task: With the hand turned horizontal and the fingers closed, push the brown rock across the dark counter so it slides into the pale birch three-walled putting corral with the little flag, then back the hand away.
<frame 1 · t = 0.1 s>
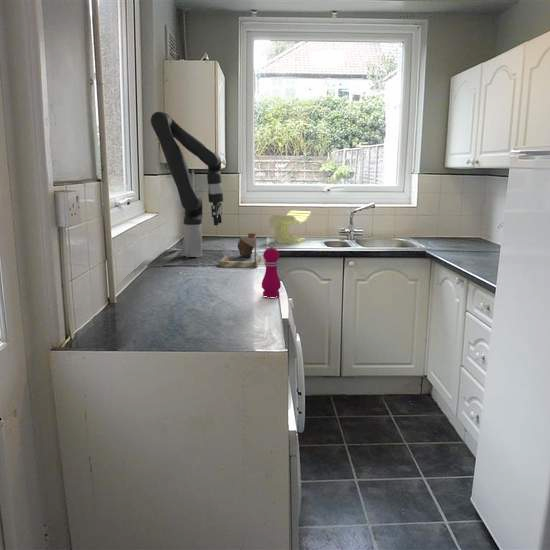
hand: (217, 224, 267), 17 cm above the countertop, tool pointing down, fingers open, 8 cm apart
corral: (241, 263, 255), on the countertop
pepper mill: (271, 296, 195), on the countertop
slatted curved stool: (290, 241, 322), on the countertop
rock: (246, 257, 272), on the countertop
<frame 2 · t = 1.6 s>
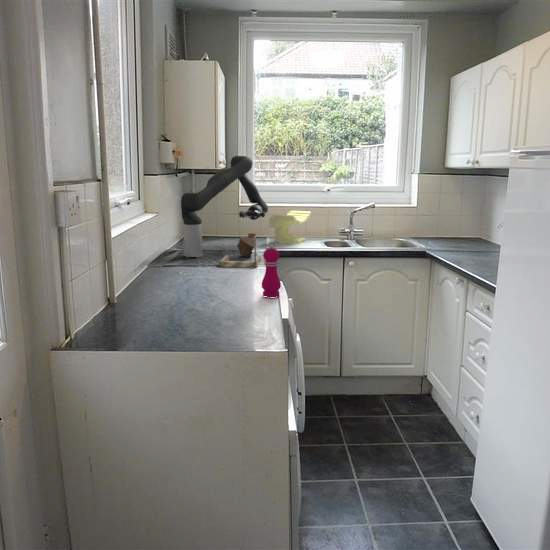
hand: (250, 215, 278), 20 cm above the countertop, tool horizontal, fingers open, 7 cm apart
nothing on the countertop moved.
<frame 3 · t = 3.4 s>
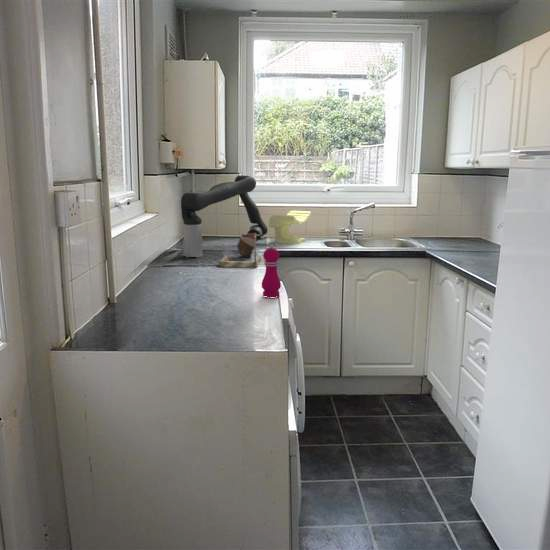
hand: (250, 239, 281), 8 cm above the countertop, tool horizontal, fingers closed
nothing on the countertop moved.
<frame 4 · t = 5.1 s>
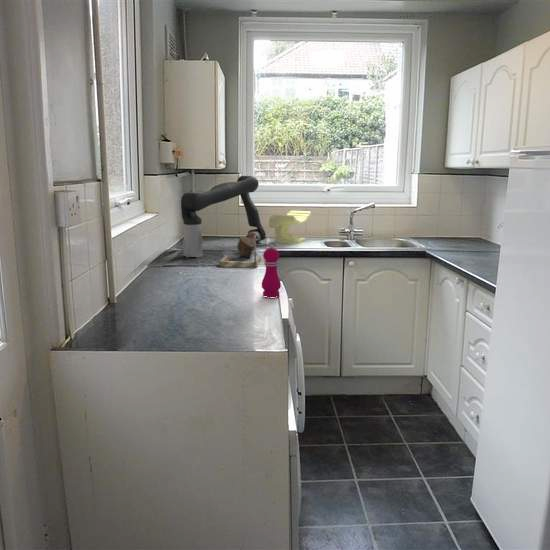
hand: (248, 243, 275), 6 cm above the countertop, tool horizontal, fingers closed
rock: (246, 257, 271), on the countertop, touching gripper
everything else where it was.
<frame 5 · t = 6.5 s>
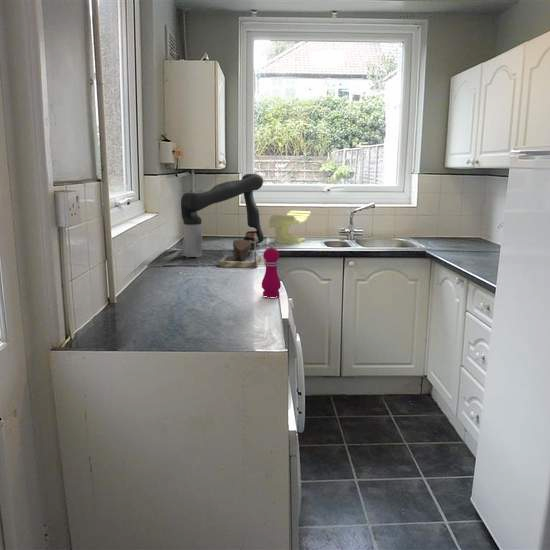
hand: (245, 246, 265), 6 cm above the countertop, tool horizontal, fingers closed
rock: (241, 260, 262), on the countertop, touching gripper
everything else where it was.
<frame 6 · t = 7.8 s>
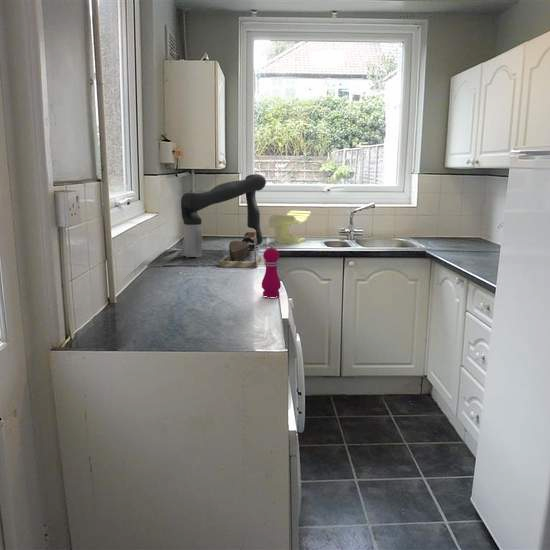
hand: (244, 248, 260), 6 cm above the countertop, tool horizontal, fingers closed
rock: (237, 262, 258), on the countertop, touching gripper
everything else where it was.
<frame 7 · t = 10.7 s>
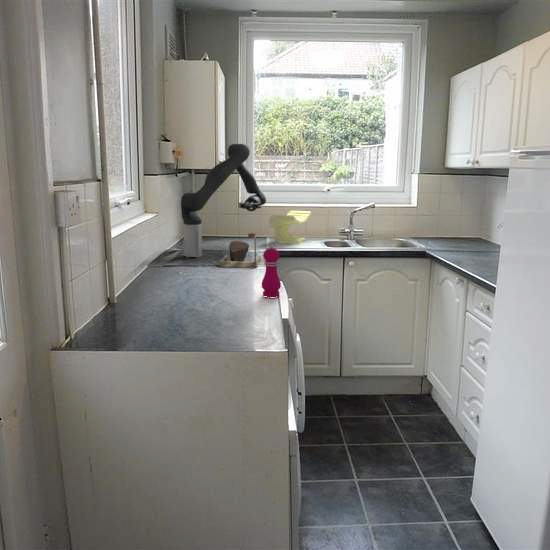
hand: (247, 207, 270), 26 cm above the countertop, tool horizontal, fingers closed
rock: (237, 262, 258), on the countertop
everything else where it was.
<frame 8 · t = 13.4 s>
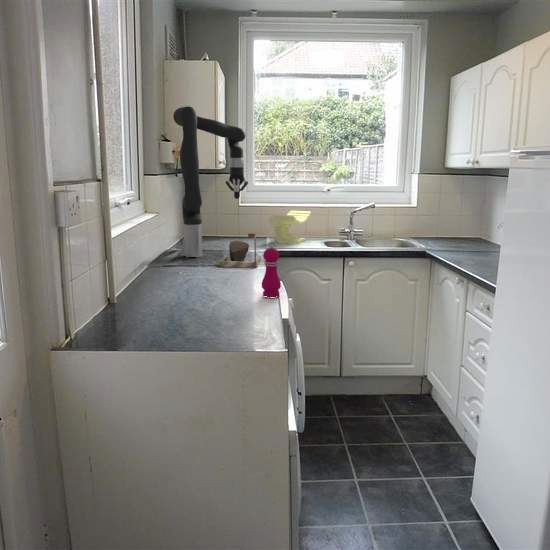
hand: (237, 198, 283), 29 cm above the countertop, tool pointing down, fingers closed
nothing on the countertop moved.
at the end: rock 3.5 cm from the corral (horizontally); rock moved 15.5 cm from its start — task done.
